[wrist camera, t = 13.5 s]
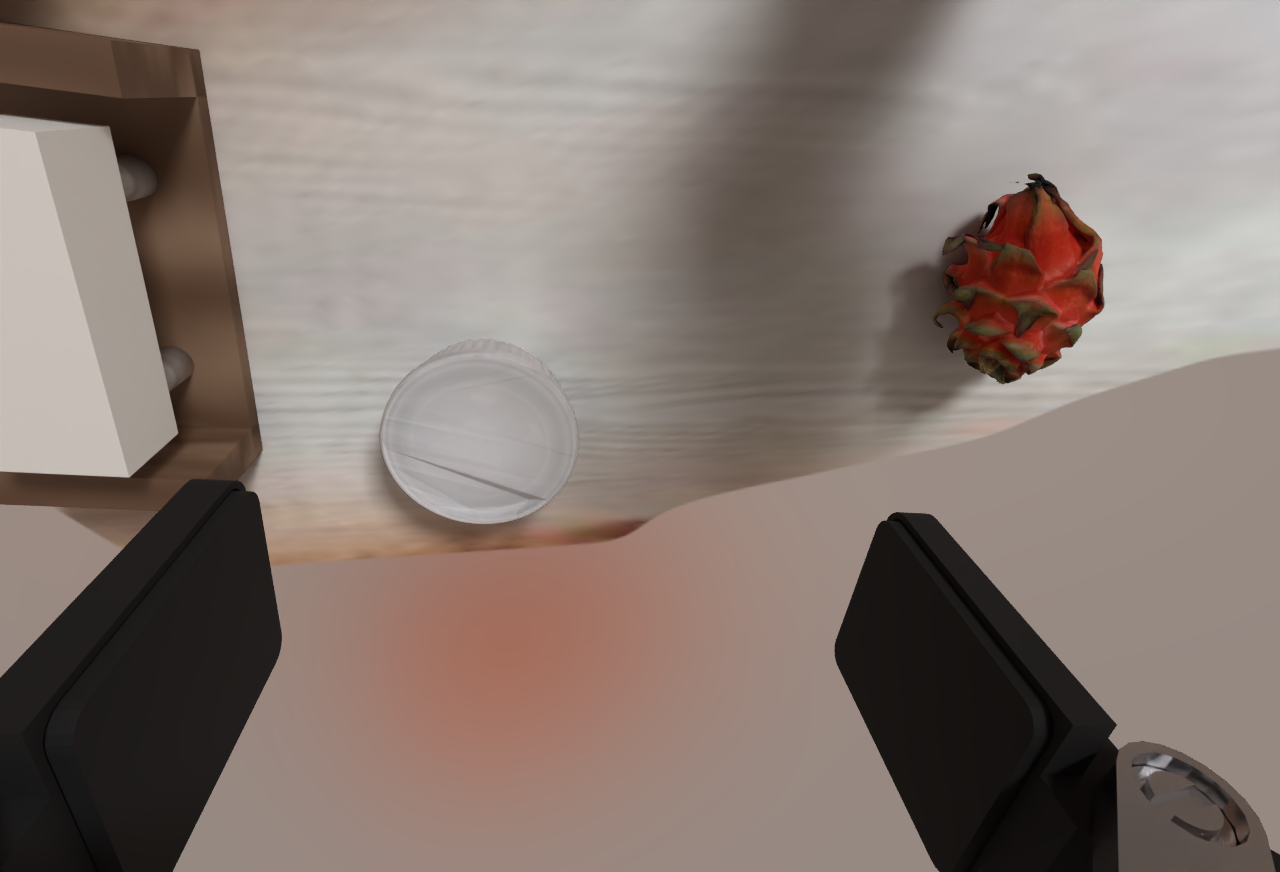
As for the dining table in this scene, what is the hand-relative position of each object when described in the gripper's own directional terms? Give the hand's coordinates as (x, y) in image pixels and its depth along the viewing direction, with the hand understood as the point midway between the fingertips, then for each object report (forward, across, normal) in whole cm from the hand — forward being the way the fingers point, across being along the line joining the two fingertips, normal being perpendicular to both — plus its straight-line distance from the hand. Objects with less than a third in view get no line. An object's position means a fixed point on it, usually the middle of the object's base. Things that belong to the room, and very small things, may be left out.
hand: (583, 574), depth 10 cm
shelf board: (+25, +23, +5) cm, 34 cm away
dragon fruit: (+31, -26, 0) cm, 40 cm away
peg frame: (+30, +23, +5) cm, 38 cm away
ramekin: (+31, +4, +12) cm, 33 cm away
